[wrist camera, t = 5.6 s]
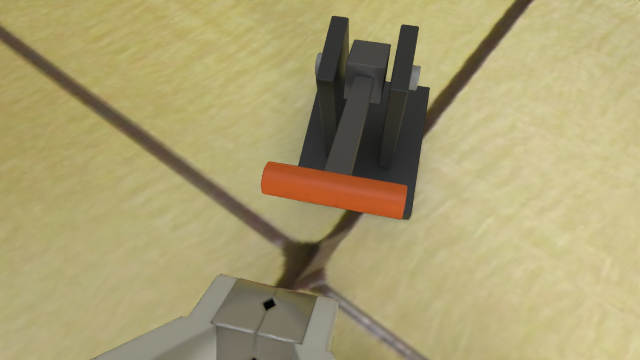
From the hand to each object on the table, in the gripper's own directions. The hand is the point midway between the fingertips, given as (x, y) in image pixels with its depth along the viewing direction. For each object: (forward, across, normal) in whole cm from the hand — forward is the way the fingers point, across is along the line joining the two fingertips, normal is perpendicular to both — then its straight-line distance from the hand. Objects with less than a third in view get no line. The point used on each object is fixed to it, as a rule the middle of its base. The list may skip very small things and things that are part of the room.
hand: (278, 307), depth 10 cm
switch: (+14, 0, 0) cm, 14 cm away
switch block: (+25, 0, +4) cm, 25 cm away
